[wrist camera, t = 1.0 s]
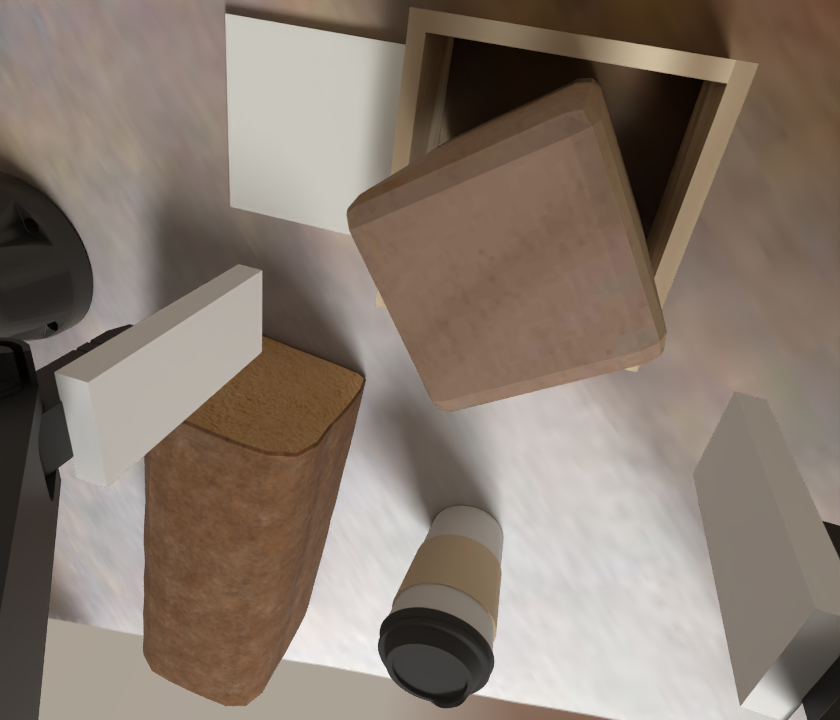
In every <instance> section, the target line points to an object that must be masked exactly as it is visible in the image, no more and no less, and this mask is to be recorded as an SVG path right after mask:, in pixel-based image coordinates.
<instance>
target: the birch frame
mask: <svg viewBox="0 0 840 720" xmlns="http://www.w3.org/2000/svg"><path fill="white" fill-rule="evenodd" d="M454 37H457V38H463V39H469V40H474V41H480V42H486V43H492V44H498V45H504V46H510V47H516V48H521V49H527V50H533V51H539V52H545V53H551V54H557V55H562V56H568V57H574V58H580V59H586V60H592V61H598V62H603V63H609V64H615V65H621V66H627V67H633V68H639V69H645V70H650V71H656V72H662V73H668V74H674V75H680V76H686V77H691V78H697V79H703V80H704V82H703V84H702V87H701V90H700V93H699V96H698V98H697V101H696V104H695V107H694V110H693V112H692V115H691V118H690V121H689V124H688V126H687V129H686V132H685V135H684V138H683V140H682V143H681V146H680V149H679V152H678V154H677V157H676V160H675V163H674V166H673V168H672V171H671V174H670V177H669V180H668V183H667V185H666V188H665V191H664V194H663V197H662V199H661V202H660V205H659V208H658V211H657V213H656V216H655V219H654V222H653V225H652V227H651V230H650V233H649V236H648V239H647V241H646V244H647V249H648V253H649V257H650V262H651V266H652V270H653V275H654V279H655V283H656V288H657V292H658V296H659V301H660V305H661V309H662V308H663V305H664V303H665V300H666V297H667V295H668V292H669V290H670V287H671V285H672V282H673V280H674V277H675V275H676V272H677V270H678V267H679V265H680V262H681V260H682V257H683V254H684V252H685V249H686V247H687V244H688V242H689V239H690V237H691V234H692V232H693V229H694V227H695V224H696V222H697V219H698V217H699V214H700V211H701V209H702V206H703V204H704V201H705V199H706V196H707V194H708V191H709V189H710V186H711V184H712V181H713V179H714V176H715V174H716V171H717V168H718V166H719V163H720V161H721V158H722V156H723V153H724V151H725V148H726V146H727V143H728V141H729V138H730V136H731V133H732V131H733V128H734V125H735V123H736V120H737V118H738V115H739V113H740V110H741V108H742V105H743V103H744V100H745V98H746V95H747V93H748V90H749V88H750V85H751V82H752V80H753V77H754V75H755V72H756V70H757V67H758V65H759V64H757V63H751V62H744V61H738V60H732V59H726V58H720V57H714V56H708V55H702V54H696V53H690V52H683V51H677V50H671V49H665V48H659V47H653V46H647V45H641V44H635V43H628V42H622V41H616V40H610V39H604V38H598V37H592V36H586V35H580V34H574V33H567V32H561V31H555V30H549V29H543V28H537V27H531V26H525V25H519V24H512V23H506V22H500V21H494V20H488V19H482V18H476V17H470V16H464V15H457V14H451V13H445V12H439V11H433V10H427V9H421V8H415V7H410V10H409V18H408V27H407V36H406V45H405V53H404V62H403V71H402V80H401V88H400V97H399V106H398V115H397V123H396V132H395V141H394V150H393V158H392V167H391V175H393V174H394V173H396V172H398V171H399V170H401V169H402V168H404V167H406V166H407V165H409V164H411V163H412V162H414V161H416V160H417V159H419V158H421V157H422V156H424V155H426V154H427V153H429V152H430V151H432V150H434V149H435V148H437V147H438V143H439V136H440V130H441V123H442V116H443V110H444V103H445V97H446V90H447V83H448V77H449V70H450V64H451V57H452V50H453V44H454ZM376 306H378V307H382V308H386V309H387V307H386V305H385V303H384V301H383V299H382V297H381V295H380V293H379V291H378V290H377V298H376ZM639 366H640V365H639ZM639 366H635V367H631V368H627V369H626V370H630V371H633V372H637V371H638V368H639Z"/></svg>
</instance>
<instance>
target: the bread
mask: <svg viewBox="0 0 840 720" xmlns="http://www.w3.org/2000/svg"><path fill="white" fill-rule="evenodd" d="M365 381H366V379H365V378H363V377H362V376H360V375H359V374H357V373H355V372H353V371H351V370H348V369H346V368H344V367H341V366H339V365H336V364H333V363H331V362H328V361H326V360H323V359H321V358H318V357H316V356H313V355H310V354H308V353H305V352H302V351H300V350H297V349H294V348H292V347H289V346H287V345H284V344H282V343H279V342H277V341H274V340H272V339H269V338H267V337H264V336H262V352H261V353H260V354H259V355H258V356H257V357H256V358H254V359H253V360H252V361H251V362H250V363H249V364H248V365H247V366H245V367H244V368H243V369H242V370H241V371H240V372H239V373H237V374H236V375H235V376H234V377H233V378H232V379H231V380H230V381H228V382H227V383H226V384H225V385H224V386H223V387H222V388H220V389H219V390H218V391H217V392H216V393H215V394H214V395H212V396H211V397H210V398H209V399H208V400H207V401H206V402H205V403H203V404H202V405H201V406H200V407H199V408H198V409H197V410H195V411H194V412H193V413H192V414H191V415H190V416H189V417H188V418H186V419H185V420H184V421H183V422H182V423H181V424H180V425H178V426H177V427H176V428H175V429H174V430H173V431H172V432H170V433H169V434H168V435H167V436H166V437H165V438H164V439H163V440H161V441H160V442H159V443H158V444H157V445H156V446H155V447H153V448H152V449H151V450H150V451H149V452H148V453H147V454H146V455H145V496H146V504H145V521H144V553H145V570H144V610H143V620H144V642H143V652H144V656H145V658H146V660H147V662H148V664H149V666H150V668H151V670H152V671H153V672H155V673H157V674H158V675H160V676H162V677H164V678H165V679H167V680H168V681H171V682H173V683H175V684H177V685H179V686H181V687H183V688H185V689H187V690H189V691H191V692H194V693H196V694H198V695H200V696H203V697H205V698H207V699H210V700H212V701H215V702H217V703H220V704H223V705H225V706H246V705H248V704H249V703H250V702H251V701H252V700H254V699H255V698H256V697H257V696H259V695H260V694H261V693H262V692H263V690H264V689H265V687H266V685H267V683H268V681H269V680H270V678H271V676H272V674H273V672H274V671H275V669H276V667H277V666H278V664H279V662H280V660H281V659H282V657H283V656H284V654H285V652H286V650H287V649H288V647H289V645H290V643H291V641H292V639H293V637H294V636H295V634H296V632H297V630H298V628H299V626H300V624H301V622H302V620H303V618H304V616H305V614H306V611H307V608H308V605H309V601H310V597H311V593H312V590H313V586H314V582H315V578H316V575H317V571H318V567H319V564H320V560H321V557H322V553H323V549H324V546H325V542H326V538H327V534H328V529H329V525H330V520H331V517H332V513H333V510H334V507H335V503H336V499H337V495H338V491H339V486H340V482H341V478H342V474H343V470H344V466H345V462H346V459H347V455H348V452H349V448H350V444H351V440H352V436H353V432H354V428H355V423H356V419H357V415H358V411H359V407H360V403H361V399H362V394H363V390H364V386H365Z"/></svg>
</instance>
